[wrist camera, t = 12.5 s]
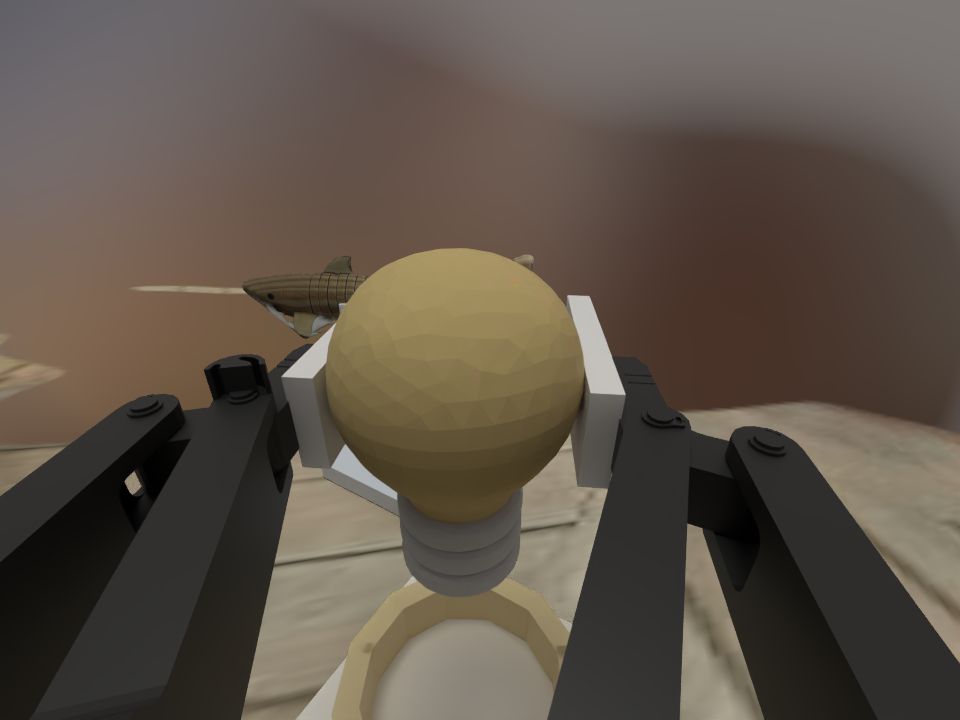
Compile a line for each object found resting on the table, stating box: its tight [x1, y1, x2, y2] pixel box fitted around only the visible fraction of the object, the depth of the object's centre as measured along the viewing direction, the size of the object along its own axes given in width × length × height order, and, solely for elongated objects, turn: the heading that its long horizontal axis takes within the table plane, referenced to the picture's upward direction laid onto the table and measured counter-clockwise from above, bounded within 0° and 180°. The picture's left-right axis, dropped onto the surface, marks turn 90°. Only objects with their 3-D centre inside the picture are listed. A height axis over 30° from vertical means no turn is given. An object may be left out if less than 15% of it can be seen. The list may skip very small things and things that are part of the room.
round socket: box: [296, 576, 572, 720], centre depth 19 cm, size 12×12×4 cm
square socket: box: [322, 445, 400, 516], centre depth 35 cm, size 12×12×4 cm
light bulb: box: [325, 248, 584, 597], centre depth 12 cm, size 6×6×10 cm
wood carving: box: [242, 255, 534, 339], centre depth 54 cm, size 9×35×11 cm, turn 88°
